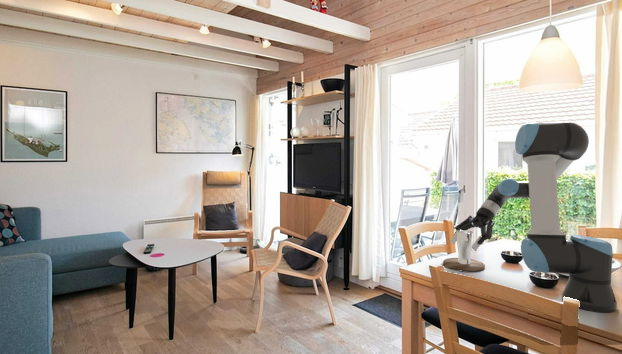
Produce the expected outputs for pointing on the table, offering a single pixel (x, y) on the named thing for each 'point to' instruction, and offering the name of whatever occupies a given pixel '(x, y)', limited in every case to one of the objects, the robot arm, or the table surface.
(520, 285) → the table surface
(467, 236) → the beer glass
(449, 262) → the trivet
